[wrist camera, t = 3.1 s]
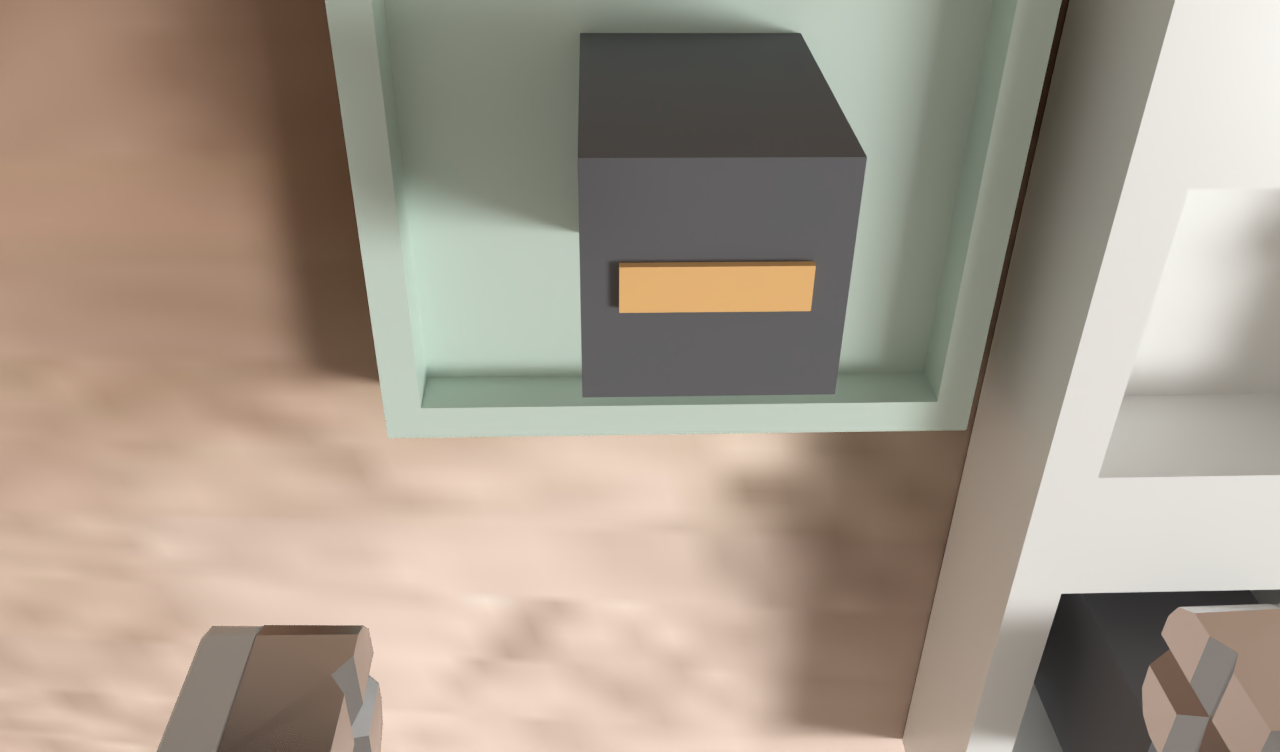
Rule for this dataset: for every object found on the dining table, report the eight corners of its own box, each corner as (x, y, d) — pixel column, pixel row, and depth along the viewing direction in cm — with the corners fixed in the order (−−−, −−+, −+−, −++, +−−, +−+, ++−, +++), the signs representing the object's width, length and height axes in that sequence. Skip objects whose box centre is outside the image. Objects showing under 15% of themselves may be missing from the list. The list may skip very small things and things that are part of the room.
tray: (318, -239, 19) (292, -228, 17) (1065, -232, 19) (1110, -219, 18) (400, 386, 26) (387, 437, 24) (942, 380, 27) (966, 430, 25)
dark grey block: (580, 32, 21) (576, 162, 16) (800, 33, 21) (868, 160, 16) (583, 233, 23) (582, 402, 18) (782, 232, 23) (836, 399, 18)
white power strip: (1087, -81, 21) (1200, -16, 17) (1568, -78, 21) (1783, -15, 17) (880, 836, 37) (914, 974, 33) (1155, 828, 37) (1219, 964, 34)
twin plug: (1055, 542, 28) (1207, 837, 21) (1214, 539, 29) (1417, 831, 22) (1021, 654, 31) (1149, 953, 24) (1169, 651, 31) (1338, 946, 24)
